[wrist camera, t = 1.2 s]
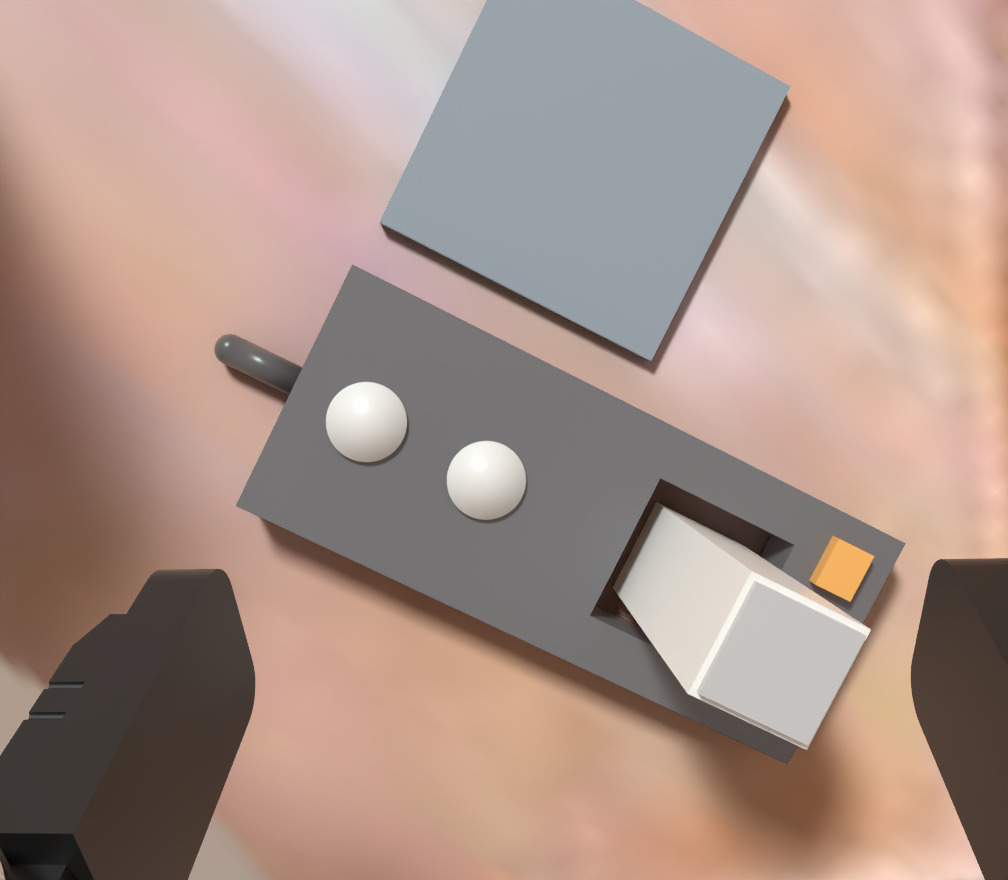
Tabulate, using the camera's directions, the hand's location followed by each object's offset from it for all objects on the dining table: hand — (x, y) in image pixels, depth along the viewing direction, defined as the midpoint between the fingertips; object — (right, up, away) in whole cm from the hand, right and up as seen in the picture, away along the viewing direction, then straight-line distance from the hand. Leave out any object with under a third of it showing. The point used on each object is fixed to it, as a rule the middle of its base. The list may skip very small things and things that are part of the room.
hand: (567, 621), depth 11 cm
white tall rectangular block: (+6, -3, +28) cm, 29 cm away
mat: (+2, +13, +26) cm, 29 cm away
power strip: (0, 0, +27) cm, 27 cm away
